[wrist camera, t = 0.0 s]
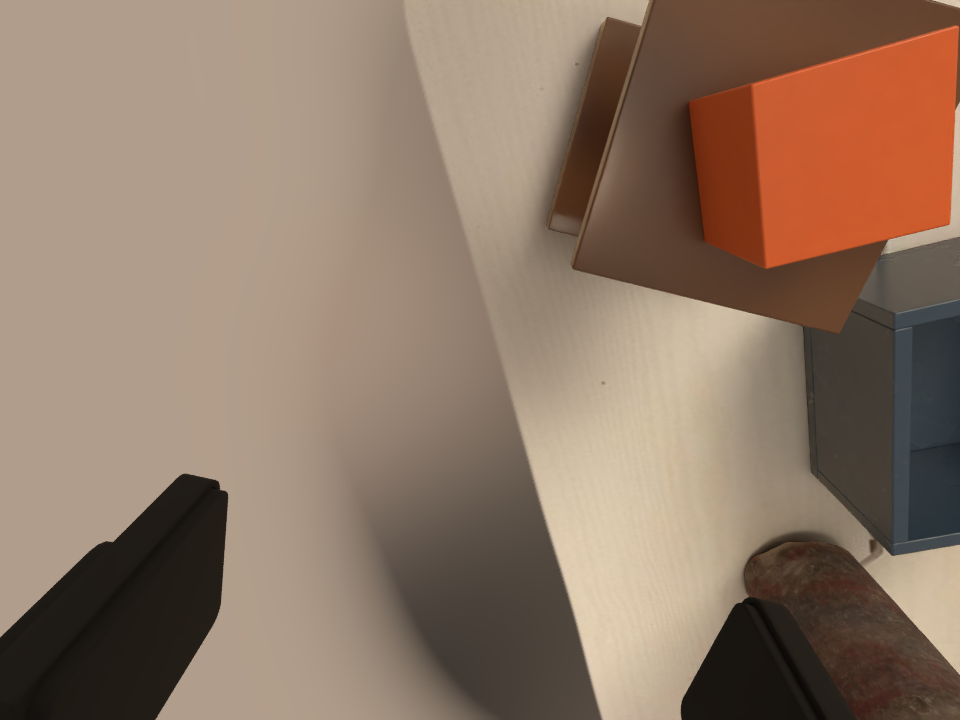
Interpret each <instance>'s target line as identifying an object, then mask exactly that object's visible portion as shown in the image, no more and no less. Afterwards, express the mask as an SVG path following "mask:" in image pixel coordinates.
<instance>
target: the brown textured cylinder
mask: <svg viewBox="0 0 960 720" xmlns="http://www.w3.org/2000/svg"><path fill="white" fill-rule="evenodd" d="M745 584H746V590H747V593H748V595H749V597H755V598H759V599H764V600H769V601H773V602H778V603H781V604H783V605H785V606H786V607H787V609H788V610H789V611H790V613H791V614H792V616H793V617H794V619H795V621H796V622H797V624H798V625H799V627H800V629H801V630H802V632H803V633H804V635H805V637H806V638H807V640H808V641H809V643H810V645H811V646H812V648H813V649H814V651H815V653H816V654H817V656H818V657H819V659H820V661H821V662H822V664H823V665H824V667H825V669H826V670H827V672H828V673H829V675H830V677H831V678H832V680H833V681H834V683H835V685H836V686H837V688H838V689H839V691H840V693H841V694H842V696H843V697H844V699H845V700H846V702H847V704H848V705H849V707H850V708H851V710H852V712H853V713H854V715H855V716H856V718H857V720H960V675H959V674H958V672H957V671H956V670H955V669H954V668H953V667H952V666H951V665H950V663H949V662H948V661H947V660H946V659H945V658H944V657H943V656H942V654H941V653H940V652H939V651H938V650H937V649H936V648H935V646H934V645H933V644H932V643H931V642H930V641H929V640H928V639H927V637H926V636H925V635H924V634H923V633H922V632H921V631H920V630H919V629H918V628H917V627H916V625H915V624H914V623H913V622H912V621H911V620H910V619H909V618H908V617H907V615H906V614H905V613H904V612H903V611H902V610H901V608H900V607H899V606H898V605H897V604H896V603H895V602H894V601H893V600H892V599H891V598H890V596H889V595H888V594H887V593H886V592H885V591H884V590H883V589H882V588H881V586H880V585H879V584H878V583H877V582H876V581H875V580H874V579H873V578H872V577H871V575H870V574H869V573H868V572H867V571H866V570H865V569H864V568H863V567H862V566H861V565H860V564H859V562H858V561H857V560H856V559H855V558H854V557H853V556H852V555H851V554H850V553H849V552H848V551H846V550H844V549H843V548H840V547H838V546H836V545H831V544H827V543H824V542H820V541H808V542H786V543H784V544H782V545H780V546H778V547H776V548H773V549H771V550H770V551H767V552H765V553H763V554H759V555H755V556H754V557H753V558H752V559H751V560H750V561H749V563H748V565H747V567H746V571H745Z"/></svg>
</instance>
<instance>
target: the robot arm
mask: <svg viewBox="0 0 960 720" xmlns="http://www.w3.org/2000/svg"><path fill="white" fill-rule="evenodd" d="M227 506H228V493H227V492H226V491H222V490H220V485H219V482H218V481H216V480H213V479H208V478H204V477H199V476H194V475H190V474H182V475H181V476H179V477H178V478H177V479H176V480H175V481H174V482H173V483H172V484H171V485H170V486H169V487H168V488H167V489H166V490H165V491H164V492H163V493H162V494H161V495H160V496H159V497H158V498H157V499H156V500H155V501H154V502H153V503H152V504H151V505H150V506H149V507H148V508H147V509H146V510H145V511H144V512H143V513H142V514H141V515H140V516H139V517H138V518H137V519H136V520H135V521H134V522H133V523H132V524H131V525H130V526H129V527H128V528H127V529H126V530H125V531H124V532H123V533H122V534H121V535H120V536H119V537H118V538H117V539H116V540H115V541H114V542H107V541H106V542H103V543H101V544H98V545H97V546H96V547H94V548H93V549H92V550H91V551H89V553H87V554H86V555H85V556H84V557H83V558H82V559H81V560H80V561H79V562H78V563H77V564H76V565H75V566H74V567H73V568H72V569H71V570H70V571H69V572H68V573H67V574H66V575H64V576H63V578H61V580H59V581H58V582H57V583H56V584H55V585H54V586H53V587H52V588H51V589H50V590H49V591H48V592H47V593H46V594H45V595H44V596H43V597H42V598H41V599H40V600H39V601H38V602H36V603H35V604H34V605H33V606H32V607H31V608H30V609H29V610H28V611H27V612H26V613H25V614H24V615H23V616H22V617H21V618H20V619H19V620H18V621H17V622H16V623H15V624H14V625H13V626H12V627H11V628H10V629H9V630H7V631H6V632H5V633H4V634H3V636H1V637H0V720H155V719H156V718H157V716H158V714H159V713H160V711H161V710H162V708H163V706H164V705H165V703H166V701H167V700H168V698H169V696H170V695H171V693H172V691H173V690H174V688H175V686H176V685H177V683H178V682H179V680H180V678H181V677H182V675H183V674H184V672H185V670H186V669H187V667H188V665H189V664H190V662H191V661H192V659H193V657H194V655H195V654H196V652H197V651H198V649H199V647H200V646H201V644H202V642H203V641H204V639H205V638H206V636H207V634H208V633H209V631H210V629H211V628H212V626H213V624H214V622H215V620H216V618H217V615H218V612H219V609H220V605H221V594H222V593H221V592H222V579H223V565H224V563H223V562H224V550H225V535H226V521H227ZM681 719H682V720H857V718H856V716H855V715H854V713H853V712H852V710H851V708H850V707H849V705H848V704H847V702H846V700H845V699H844V697H843V696H842V694H841V693H840V691H839V689H838V688H837V686H836V685H835V683H834V681H833V680H832V678H831V677H830V675H829V673H828V672H827V670H826V669H825V667H824V665H823V664H822V662H821V661H820V659H819V657H818V656H817V654H816V653H815V651H814V649H813V648H812V646H811V645H810V643H809V641H808V640H807V638H806V637H805V635H804V633H803V632H802V630H801V629H800V627H799V625H798V624H797V622H796V621H795V619H794V617H793V616H792V614H791V613H790V611H789V610H788V609H787V607H786V606H785V605H783V604H781V603H778V602H773V601H769V600H764V599H759V598H755V597H748V598H746V599H744V601H743V602H742V603H737V604H736V605H735V606H734V607H733V609H732V610H731V612H730V614H729V616H728V618H727V620H726V621H725V623H724V625H723V627H722V629H721V630H720V632H719V634H718V636H717V638H716V639H715V641H714V643H713V645H712V647H711V649H710V650H709V652H708V654H707V656H706V658H705V659H704V661H703V663H702V665H701V667H700V668H699V670H698V672H697V674H696V676H695V677H694V679H693V681H692V683H691V685H690V687H689V688H688V690H687V692H686V694H685V696H684V697H683V700H682V704H681Z"/></svg>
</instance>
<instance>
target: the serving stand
mask: <svg viewBox="0 0 960 720" xmlns="http://www.w3.org/2000/svg"><path fill="white" fill-rule="evenodd" d="M954 25H956V26H958V27H959V37H958V59H957V81H956V103H955V110H956V108H957V106H958V104H959V102H960V8H958V7H954V6H951V5H947V4H944V3H940V2H936V1H933V0H649V3H648V6H647V10H646V13H645V16H644V20H643V23H642V26H639V25H636V24H632V23H628V22H624V21H621V20H617V19H613V18H610V17H607V18H606V20H605V21H604V22H603V23H602V25H601V28H600V32H599V35H598V39H597V43H596V46H595V50H594V54H593V57H592V61H591V64H590V68H589V72H588V75H587V79H586V83H585V86H584V90H583V93H582V97H581V101H580V104H579V108H578V111H577V115H576V119H575V122H574V126H573V130H572V133H571V137H570V140H569V144H568V148H567V151H566V155H565V159H564V162H563V166H562V169H561V173H560V177H559V180H558V184H557V188H556V191H555V195H554V198H553V202H552V206H551V209H550V213H549V216H548V220H547V224H546V226H547V227H548V229H550V230H554V231H558V232H562V233H566V234H570V235H574V236H578V239H577V242H576V246H575V249H574V252H573V256H572V259H571V262H570V265H571V267H572V269H574V270H577V271H581V272H585V273H589V274H593V275H597V276H602V277H606V278H610V279H614V280H618V281H622V282H626V283H630V284H634V285H638V286H642V287H646V288H651V289H655V290H659V291H663V292H667V293H671V294H675V295H679V296H683V297H687V298H691V299H695V300H700V301H704V302H708V303H712V304H716V305H720V306H724V307H728V308H732V309H736V310H740V311H745V312H749V313H753V314H757V315H761V316H765V317H769V318H773V319H777V320H781V321H785V322H789V323H794V324H798V325H802V326H806V327H810V328H814V329H818V330H822V331H826V332H830V333H834V334H839V333H840V332H841V330H842V328H843V326H844V324H845V322H846V320H847V318H848V316H849V314H850V312H851V310H852V308H853V307H854V305H855V303H856V301H857V299H858V297H859V295H860V293H861V291H862V289H863V287H864V285H865V283H866V281H867V280H868V278H869V276H870V274H871V272H872V270H873V268H874V266H875V264H876V262H877V260H878V258H879V256H880V254H881V253H882V251H883V249H884V247H885V245H886V243H887V241H888V240H884V241H880V242H876V243H872V244H868V245H864V246H860V247H855V248H851V249H847V250H843V251H839V252H835V253H831V254H827V255H822V256H818V257H814V258H810V259H806V260H802V261H798V262H794V263H789V264H785V265H781V266H777V267H773V268H769V269H765V268H762V267H760V266H758V265H755V264H753V263H751V262H749V261H746V260H744V259H742V258H740V257H737V256H735V255H733V254H731V253H728V252H726V251H724V250H722V249H719V248H717V247H715V246H713V245H710V244H708V243H706V242H705V238H704V230H703V221H702V213H701V204H700V195H699V187H698V178H697V170H696V161H695V153H694V144H693V136H692V127H691V119H690V110H689V102H690V101H691V100H695V99H698V98H702V97H705V96H709V95H712V94H716V93H719V92H723V91H726V90H729V89H733V88H736V87H740V86H743V85H747V84H750V83H754V82H757V81H761V80H764V79H768V78H771V77H775V76H778V75H781V74H785V73H788V72H792V71H795V70H799V69H802V68H806V67H809V66H813V65H816V64H820V63H823V62H827V61H830V60H834V59H837V58H840V57H844V56H848V55H851V54H855V53H858V52H862V51H865V50H869V49H873V48H876V47H880V46H883V45H887V44H890V43H894V42H897V41H901V40H905V39H908V38H912V37H915V36H919V35H922V34H926V33H929V32H933V31H937V30H940V29H944V28H947V27H951V26H954Z"/></svg>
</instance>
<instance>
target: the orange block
mask: <svg viewBox="0 0 960 720" xmlns="http://www.w3.org/2000/svg"><path fill="white" fill-rule="evenodd" d="M958 37H959V27H958V26H956V25H954V26H951V27H947V28H944V29H940V30H937V31H933V32H929V33H926V34H922V35H919V36H915V37H912V38H908V39H905V40H901V41H897V42H894V43H890V44H887V45H883V46H880V47H876V48H873V49H869V50H865V51H862V52H858V53H855V54H851V55H848V56H844V57H840V58H837V59H834V60H830V61H827V62H823V63H820V64H816V65H813V66H809V67H806V68H802V69H799V70H795V71H792V72H788V73H785V74H781V75H778V76H775V77H771V78H768V79H764V80H761V81H757V82H754V83H750V84H747V85H743V86H740V87H736V88H733V89H729V90H726V91H723V92H719V93H716V94H712V95H709V96H705V97H702V98H698V99H695V100H691V101H690V102H689V110H690V119H691V127H692V136H693V144H694V153H695V161H696V170H697V178H698V187H699V195H700V204H701V213H702V221H703V230H704V238H705V242H706V243H708V244H710V245H713V246H715V247H717V248H719V249H722V250H724V251H726V252H728V253H731V254H733V255H735V256H737V257H740V258H742V259H744V260H746V261H749V262H751V263H753V264H755V265H758V266H760V267H762V268H765V269H769V268H773V267H777V266H781V265H785V264H789V263H794V262H798V261H802V260H806V259H810V258H814V257H818V256H822V255H827V254H831V253H835V252H839V251H843V250H847V249H851V248H855V247H860V246H864V245H868V244H872V243H876V242H880V241H884V240H888V239H892V238H897V237H901V236H905V235H909V234H913V233H917V232H921V231H925V230H930V229H934V228H938V227H942V226H946V225H949V224H950V213H951V191H952V169H953V147H954V125H955V103H956V81H957V59H958Z"/></svg>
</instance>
